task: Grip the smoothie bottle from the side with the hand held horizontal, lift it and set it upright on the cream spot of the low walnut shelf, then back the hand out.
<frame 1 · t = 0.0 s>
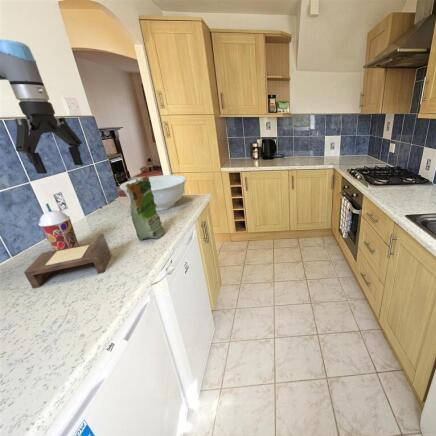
hand: (62, 169, 84), 31 cm above the countertop, tool pointing down, fingers open, 13 cm apart
pouch: (152, 236, 103), on the countertop
smoothie: (69, 253, 92), on the countertop
bowl: (161, 206, 138), on the countertop
shelf: (76, 270, 82), on the countertop
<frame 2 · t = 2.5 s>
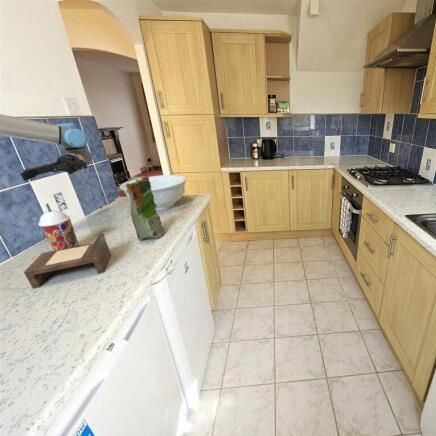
hand: (46, 173, 89), 29 cm above the countertop, tool horizontal, fingers open, 13 cm apart
nothing on the countertop moved.
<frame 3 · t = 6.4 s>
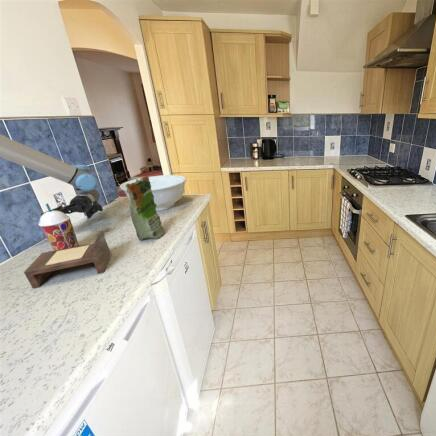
hand: (66, 218, 95), 11 cm above the countertop, tool horizontal, fingers open, 13 cm apart
nothing on the countertop moved.
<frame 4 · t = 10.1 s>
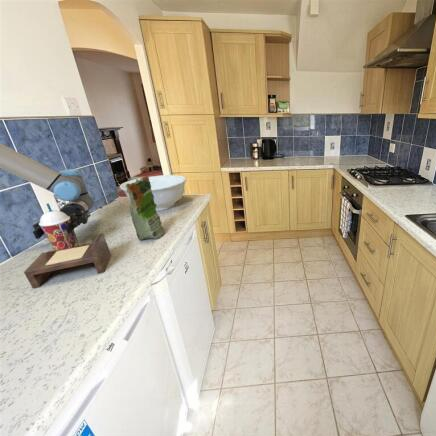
hand: (52, 232, 84), 11 cm above the countertop, tool horizontal, fingers closed on smoothie, 8 cm apart
smoothie: (69, 253, 92), on the countertop, touching gripper
everything else where it was.
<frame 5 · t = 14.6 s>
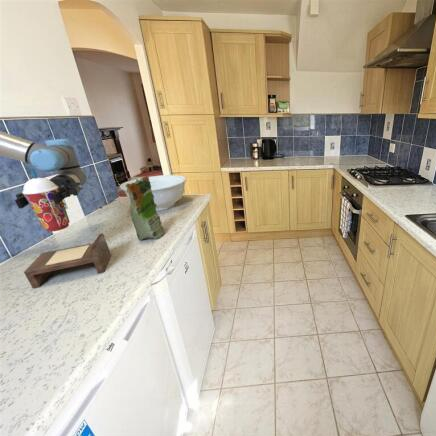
hand: (37, 201, 74), 24 cm above the countertop, tool horizontal, fingers closed on smoothie, 8 cm apart
smoothie: (58, 228, 82), point 13 cm above the countertop, touching gripper
everything else where it was.
when the fingers open (17 cm above the countertop, at t = 19.1 s): smoothie stays where it is, resting on shelf.
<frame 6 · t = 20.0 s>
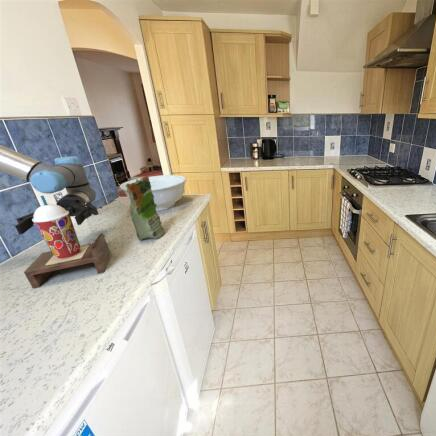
hand: (49, 225, 72), 18 cm above the countertop, tool horizontal, fingers open, 13 cm apart
smoothie: (69, 254, 79), point 6 cm above the countertop, touching shelf
everything else where it was.
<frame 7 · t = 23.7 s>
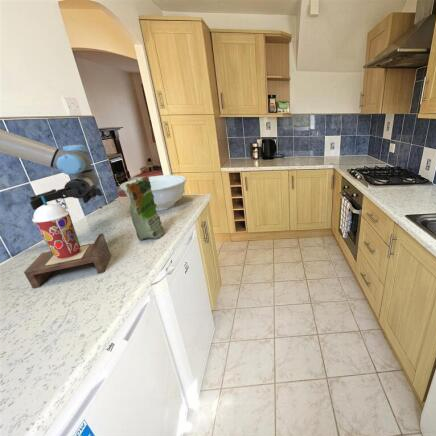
hand: (59, 202, 82), 21 cm above the countertop, tool horizontal, fingers open, 13 cm apart
nothing on the countertop moved.
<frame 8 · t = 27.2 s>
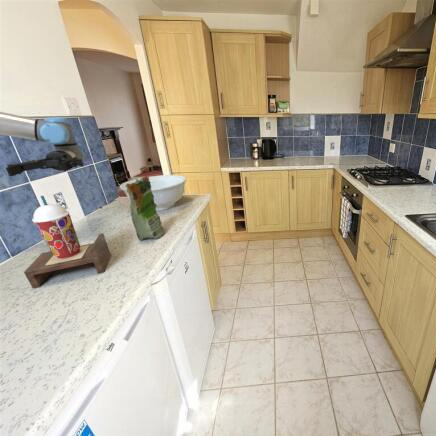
hand: (37, 169, 79), 32 cm above the countertop, tool horizontal, fingers open, 13 cm apart
nothing on the countertop moved.
at the end: smoothie inside the target area on the shelf (0.0 cm from its centre), point 6.0 cm above the shelf's base; smoothie tilted 0°; the gripper is holding nothing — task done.
